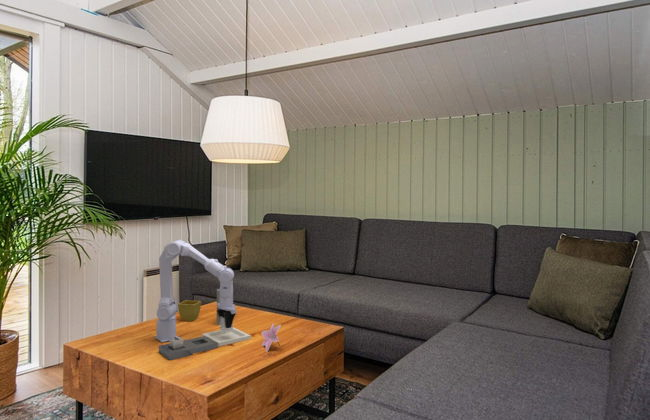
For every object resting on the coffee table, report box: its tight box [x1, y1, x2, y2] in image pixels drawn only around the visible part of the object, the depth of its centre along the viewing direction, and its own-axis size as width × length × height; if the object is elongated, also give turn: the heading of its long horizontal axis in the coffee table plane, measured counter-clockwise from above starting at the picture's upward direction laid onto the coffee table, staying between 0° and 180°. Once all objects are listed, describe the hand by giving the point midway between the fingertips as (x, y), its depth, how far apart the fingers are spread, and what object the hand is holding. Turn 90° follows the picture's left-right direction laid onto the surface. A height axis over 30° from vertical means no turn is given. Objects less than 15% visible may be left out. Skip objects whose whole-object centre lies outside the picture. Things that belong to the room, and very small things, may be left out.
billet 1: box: [169, 336, 184, 350], centre depth 181 cm, size 4×4×6 cm
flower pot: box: [177, 299, 202, 322], centre depth 229 cm, size 9×9×9 cm
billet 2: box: [219, 316, 234, 332], centre depth 199 cm, size 4×4×6 cm
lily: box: [261, 323, 282, 352], centre depth 190 cm, size 12×12×10 cm
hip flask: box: [216, 288, 220, 326], centre depth 226 cm, size 16×4×20 cm, turn 170°
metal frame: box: [158, 335, 218, 361], centre depth 185 cm, size 12×20×2 cm, turn 130°
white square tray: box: [201, 327, 252, 348], centre depth 199 cm, size 16×16×2 cm
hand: (226, 326), depth 199 cm, fingers closed on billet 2, 4 cm apart
